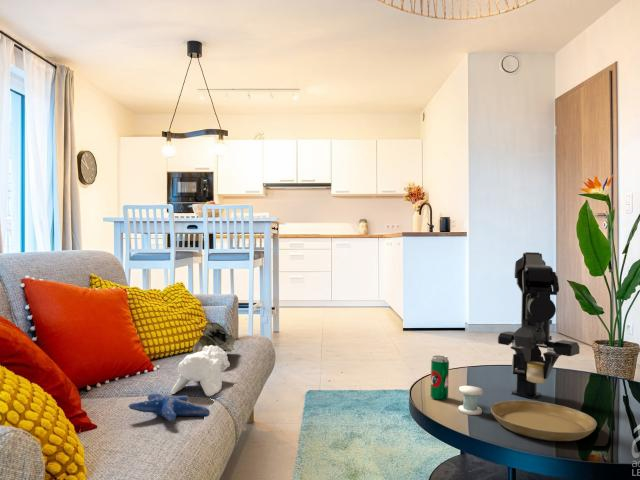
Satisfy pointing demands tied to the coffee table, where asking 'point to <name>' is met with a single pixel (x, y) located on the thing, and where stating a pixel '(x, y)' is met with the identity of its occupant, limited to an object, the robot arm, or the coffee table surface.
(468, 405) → the white spool
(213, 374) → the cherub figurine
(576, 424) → the plant saucer
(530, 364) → the brass peg
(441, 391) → the soda can
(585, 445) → the coffee table surface
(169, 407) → the starfish
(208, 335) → the hollow geode rock
